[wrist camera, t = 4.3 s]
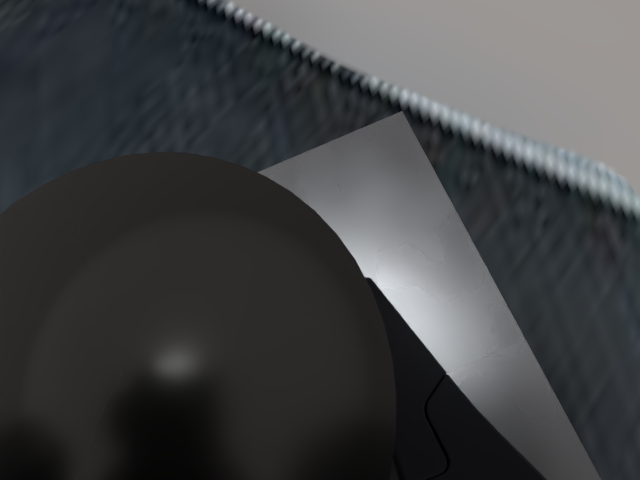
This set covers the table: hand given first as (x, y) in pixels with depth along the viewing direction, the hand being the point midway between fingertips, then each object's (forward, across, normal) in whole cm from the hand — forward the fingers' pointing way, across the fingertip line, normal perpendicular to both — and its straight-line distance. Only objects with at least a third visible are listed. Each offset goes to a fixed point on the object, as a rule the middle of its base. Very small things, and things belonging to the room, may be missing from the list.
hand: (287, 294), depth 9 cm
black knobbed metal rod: (+4, 0, +6) cm, 7 cm away
